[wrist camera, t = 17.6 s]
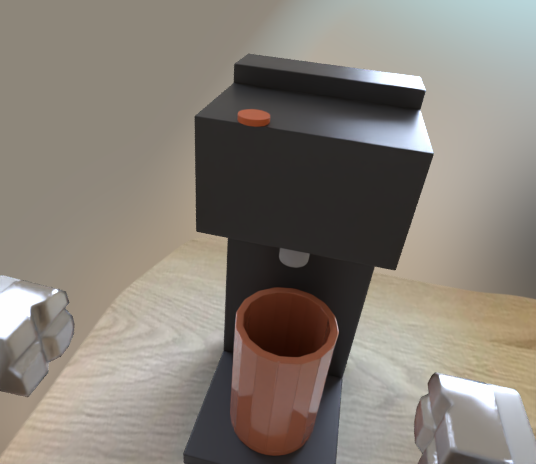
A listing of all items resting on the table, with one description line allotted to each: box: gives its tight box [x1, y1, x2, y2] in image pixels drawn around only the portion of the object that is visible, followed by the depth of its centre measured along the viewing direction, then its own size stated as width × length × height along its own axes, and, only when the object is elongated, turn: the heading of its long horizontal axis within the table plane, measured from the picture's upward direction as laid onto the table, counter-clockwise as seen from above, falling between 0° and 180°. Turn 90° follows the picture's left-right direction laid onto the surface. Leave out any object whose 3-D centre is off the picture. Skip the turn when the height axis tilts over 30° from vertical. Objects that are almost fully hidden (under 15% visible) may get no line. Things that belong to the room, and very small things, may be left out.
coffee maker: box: [183, 54, 434, 464], centre depth 26 cm, size 12×10×24 cm
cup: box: [230, 287, 339, 456], centre depth 28 cm, size 6×6×10 cm
